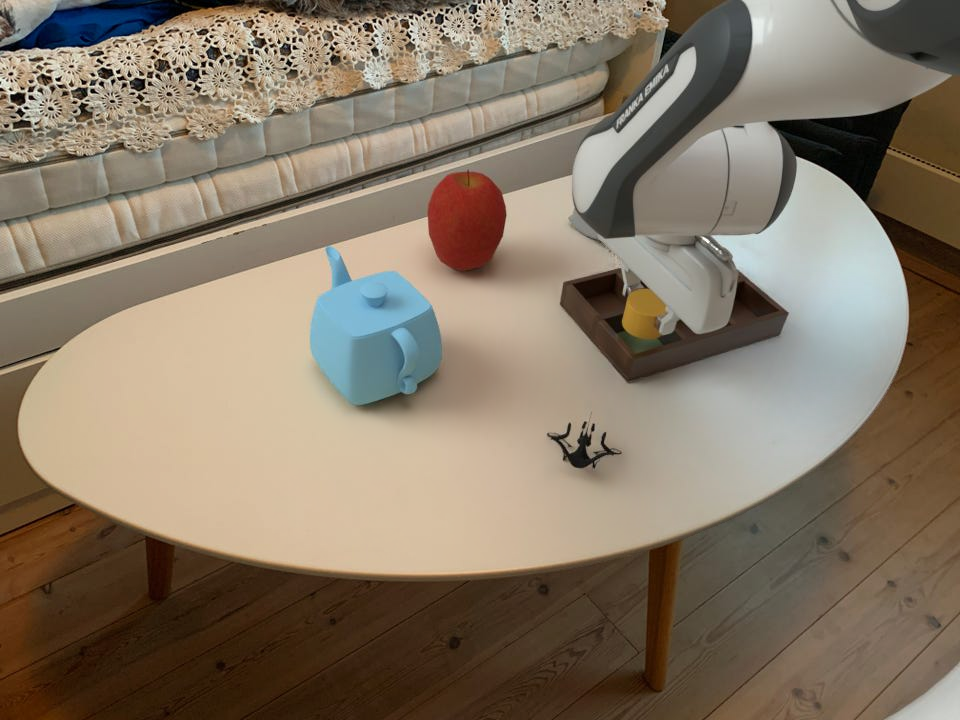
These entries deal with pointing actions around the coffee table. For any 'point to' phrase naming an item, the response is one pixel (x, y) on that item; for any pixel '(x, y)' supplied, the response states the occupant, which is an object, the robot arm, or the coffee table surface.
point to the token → (643, 314)
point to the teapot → (373, 334)
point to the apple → (466, 219)
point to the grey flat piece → (582, 226)
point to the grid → (601, 320)
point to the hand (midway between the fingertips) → (646, 313)
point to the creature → (582, 448)
